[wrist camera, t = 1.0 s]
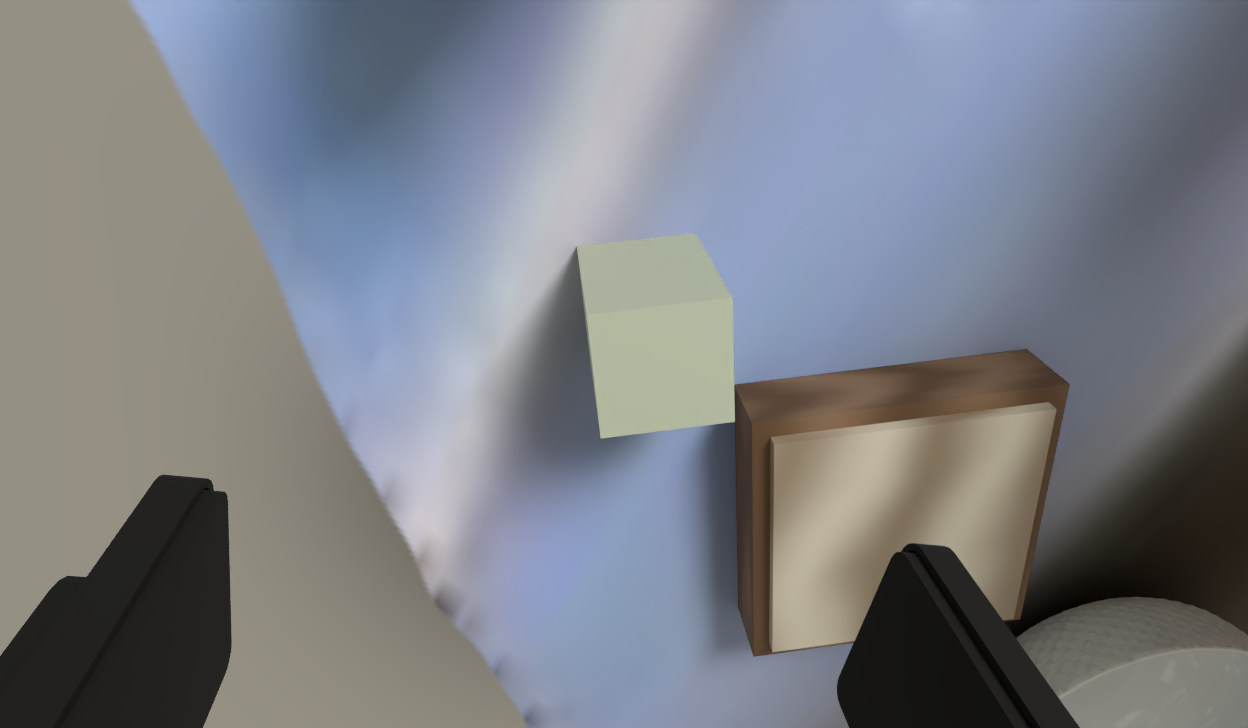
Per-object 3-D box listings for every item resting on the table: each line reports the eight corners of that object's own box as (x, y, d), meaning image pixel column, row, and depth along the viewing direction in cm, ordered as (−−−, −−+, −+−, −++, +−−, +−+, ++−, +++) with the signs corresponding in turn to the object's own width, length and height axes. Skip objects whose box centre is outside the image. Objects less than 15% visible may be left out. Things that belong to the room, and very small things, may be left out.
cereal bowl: (1017, 528, 43) (1100, 627, 36) (1258, 574, 46) (1370, 671, 40) (884, 738, 50) (934, 850, 44) (1102, 764, 53) (1177, 871, 47)
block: (695, 232, 33) (732, 297, 27) (699, 339, 36) (734, 421, 29) (576, 246, 33) (586, 314, 27) (588, 352, 35) (600, 438, 29)
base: (1026, 349, 37) (1077, 390, 34) (987, 573, 44) (1026, 627, 40) (734, 384, 37) (755, 431, 33) (738, 607, 43) (756, 666, 40)
